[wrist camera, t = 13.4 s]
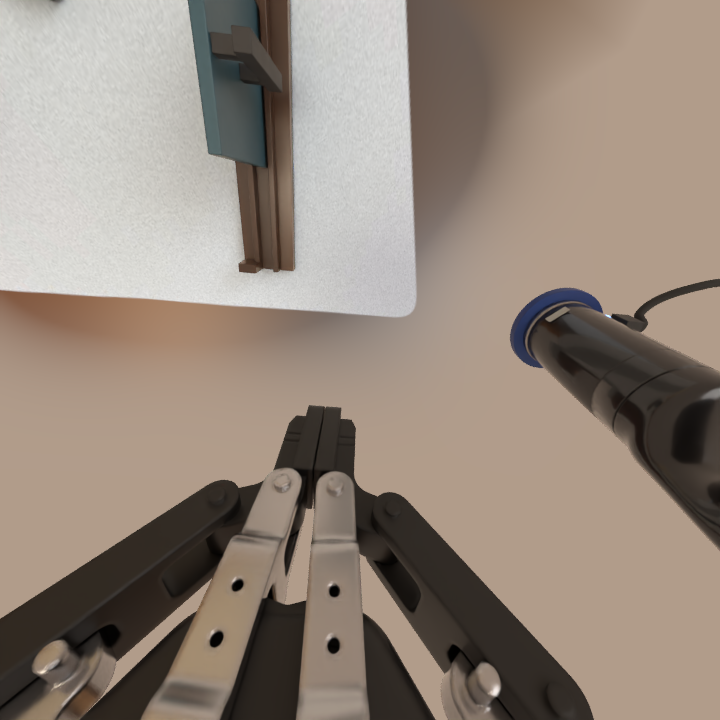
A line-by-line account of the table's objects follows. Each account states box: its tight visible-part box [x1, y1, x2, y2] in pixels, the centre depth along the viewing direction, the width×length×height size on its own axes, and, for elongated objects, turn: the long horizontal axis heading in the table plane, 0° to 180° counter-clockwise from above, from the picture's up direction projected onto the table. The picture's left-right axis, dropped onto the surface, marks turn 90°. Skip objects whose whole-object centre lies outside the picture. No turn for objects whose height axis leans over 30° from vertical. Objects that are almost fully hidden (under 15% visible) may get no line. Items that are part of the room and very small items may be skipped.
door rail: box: [235, 0, 295, 273], centre depth 31 cm, size 6×24×4 cm, turn 175°
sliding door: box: [188, 0, 282, 168], centre depth 23 cm, size 4×12×13 cm, turn 175°
